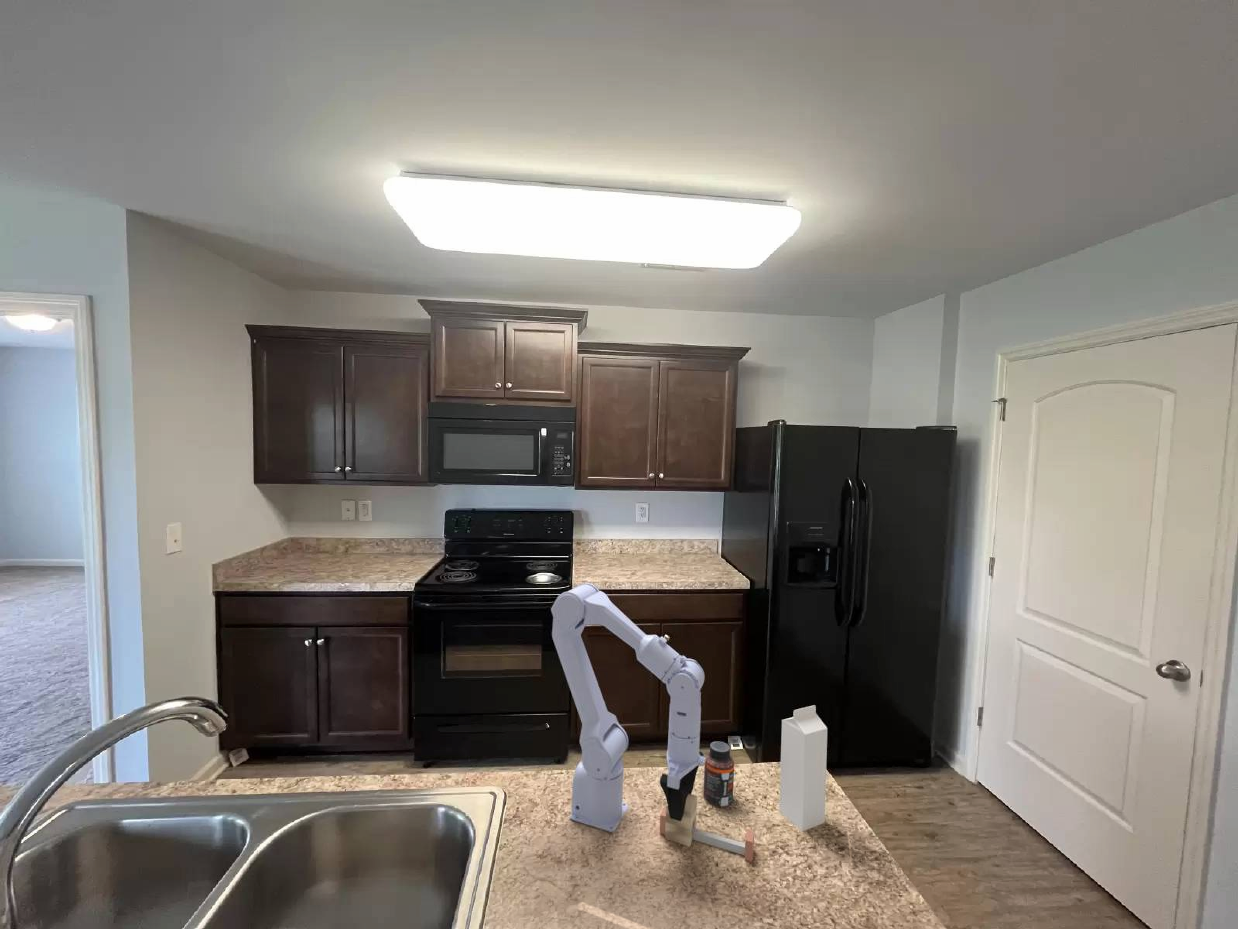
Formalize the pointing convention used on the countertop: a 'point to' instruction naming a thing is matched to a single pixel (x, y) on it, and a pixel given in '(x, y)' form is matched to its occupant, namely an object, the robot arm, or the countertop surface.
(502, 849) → the countertop surface
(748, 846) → the rail board
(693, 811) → the slider block
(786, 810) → the milk
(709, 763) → the supplement bottle
